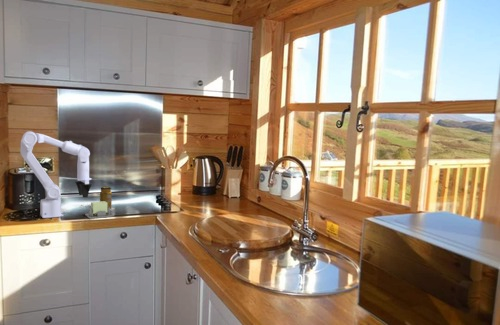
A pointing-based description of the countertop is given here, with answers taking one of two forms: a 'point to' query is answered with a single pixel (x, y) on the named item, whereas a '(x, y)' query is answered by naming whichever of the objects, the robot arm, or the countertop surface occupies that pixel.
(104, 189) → the condiment
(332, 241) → the countertop surface
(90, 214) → the chassis
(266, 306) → the countertop surface
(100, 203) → the pale green block
